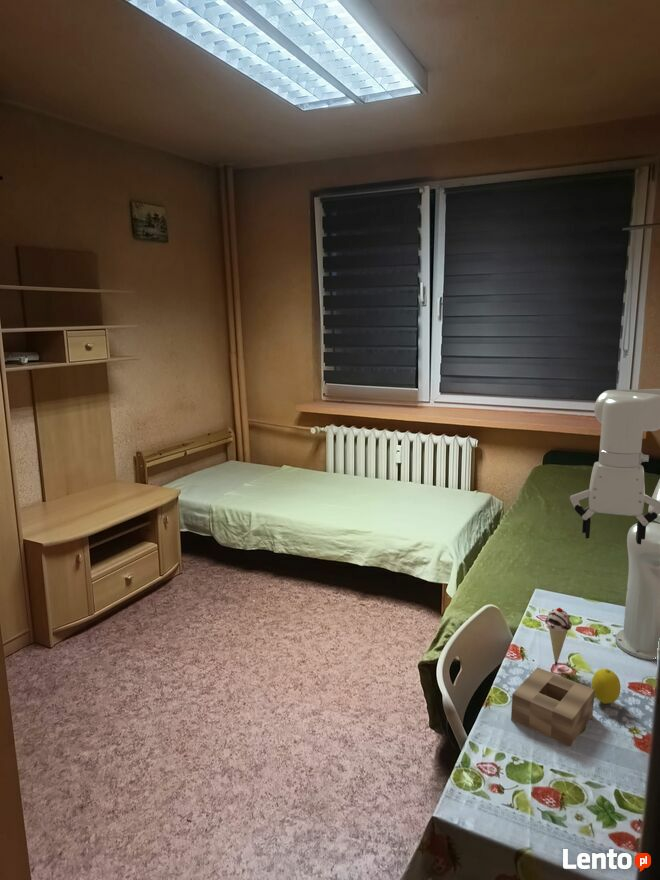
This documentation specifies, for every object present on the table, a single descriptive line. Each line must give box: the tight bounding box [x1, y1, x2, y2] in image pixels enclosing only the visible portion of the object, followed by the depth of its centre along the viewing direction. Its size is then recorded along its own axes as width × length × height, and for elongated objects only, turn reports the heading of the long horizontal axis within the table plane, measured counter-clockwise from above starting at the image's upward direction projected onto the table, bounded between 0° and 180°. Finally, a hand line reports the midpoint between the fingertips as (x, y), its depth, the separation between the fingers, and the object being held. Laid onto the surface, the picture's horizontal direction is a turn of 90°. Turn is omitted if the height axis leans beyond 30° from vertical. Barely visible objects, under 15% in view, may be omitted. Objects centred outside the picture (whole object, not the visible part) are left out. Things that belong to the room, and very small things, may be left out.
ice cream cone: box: [544, 607, 573, 667], centre depth 138 cm, size 6×6×15 cm
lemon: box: [591, 668, 621, 705], centre depth 126 cm, size 6×6×8 cm
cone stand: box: [510, 666, 595, 748], centre depth 122 cm, size 12×12×6 cm
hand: (612, 539), depth 124 cm, fingers open, 9 cm apart
